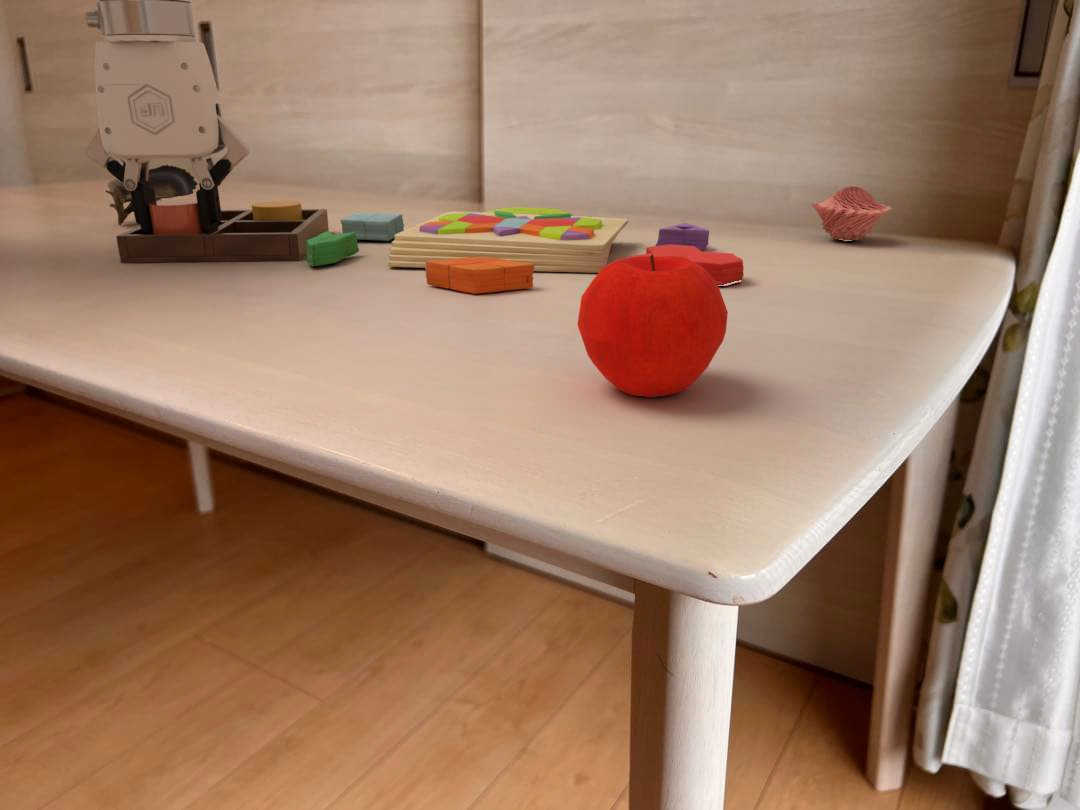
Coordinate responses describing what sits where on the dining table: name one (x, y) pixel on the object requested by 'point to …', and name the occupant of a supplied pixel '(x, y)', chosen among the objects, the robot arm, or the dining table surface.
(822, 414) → the dining table surface
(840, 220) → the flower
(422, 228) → the pattern blocks set
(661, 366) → the apple
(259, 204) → the mustard yellow cylinder
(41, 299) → the dining table surface
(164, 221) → the cylinder
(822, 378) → the dining table surface
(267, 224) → the grid
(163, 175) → the bracket fungus on branch
